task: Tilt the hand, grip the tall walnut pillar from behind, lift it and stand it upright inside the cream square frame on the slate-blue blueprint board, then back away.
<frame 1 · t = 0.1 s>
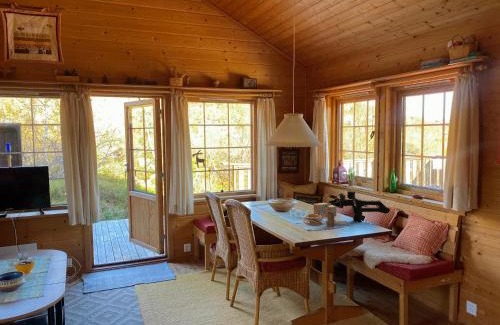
hand: (329, 202, 335), 17 cm above the table, tool horizontal, fingers open, 9 cm apart
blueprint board: (337, 223, 328), on the table
walnut pillar: (330, 226, 319), on the table
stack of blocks: (324, 216, 357), on the table
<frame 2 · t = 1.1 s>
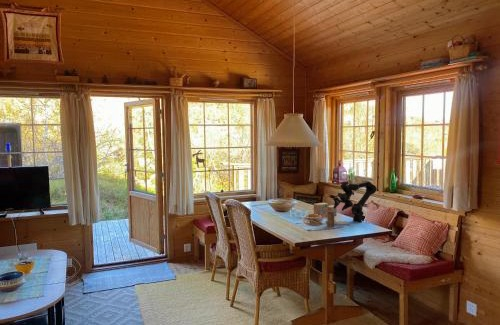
hand: (337, 209, 322), 14 cm above the table, tool tilted 45°, fingers open, 9 cm apart
nothing on the table moved.
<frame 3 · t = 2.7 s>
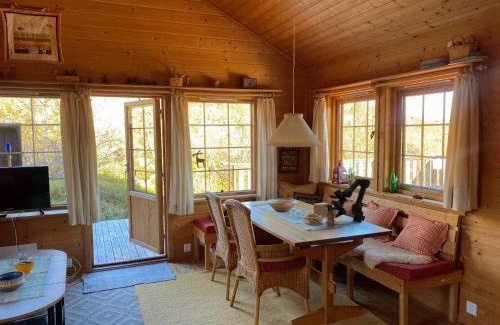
hand: (331, 216, 318), 8 cm above the table, tool tilted 45°, fingers open, 9 cm apart
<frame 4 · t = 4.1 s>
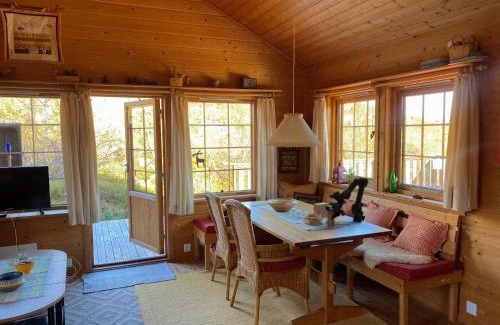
hand: (329, 218, 317), 7 cm above the table, tool tilted 45°, fingers closed on walnut pillar, 4 cm apart
walnut pillar: (330, 226, 319), on the table, touching gripper
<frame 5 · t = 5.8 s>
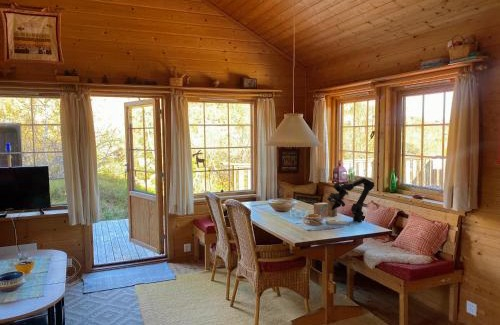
hand: (330, 209, 323), 13 cm above the table, tool tilted 45°, fingers closed on walnut pillar, 4 cm apart
walnut pillar: (331, 216, 324), point 7 cm above the table, touching gripper
when the fingers open (9 cm above the table, at t = 7.8 s): walnut pillar drops 1 cm, resting on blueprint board.
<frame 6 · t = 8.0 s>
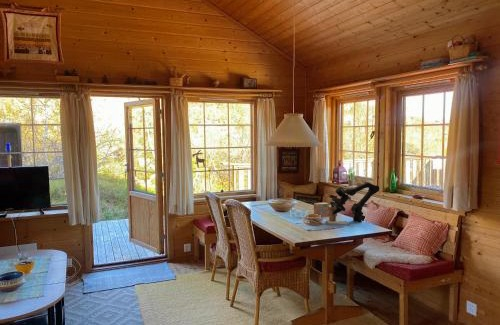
hand: (331, 213, 328), 9 cm above the table, tool tilted 45°, fingers open, 6 cm apart
walnut pillar: (332, 222, 330), point 1 cm above the table, touching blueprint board
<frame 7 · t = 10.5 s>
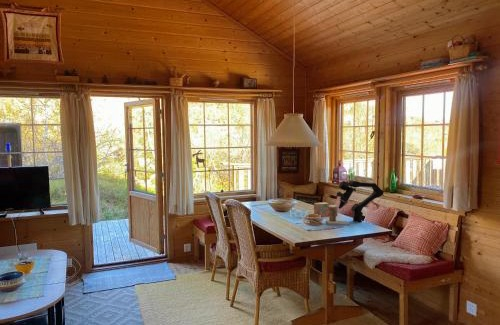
hand: (339, 208, 333), 12 cm above the table, tool tilted 30°, fingers open, 9 cm apart
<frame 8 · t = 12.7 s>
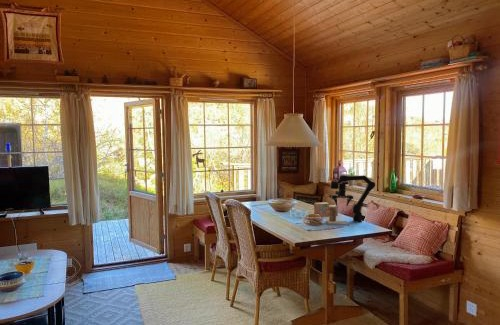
hand: (341, 206, 338), 13 cm above the table, tool pointing down, fingers open, 9 cm apart
at the end: walnut pillar 0.0 cm from the target spot on the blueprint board, point 1.0 cm above the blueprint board's base; walnut pillar tilted 0°; the gripper is holding nothing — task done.
